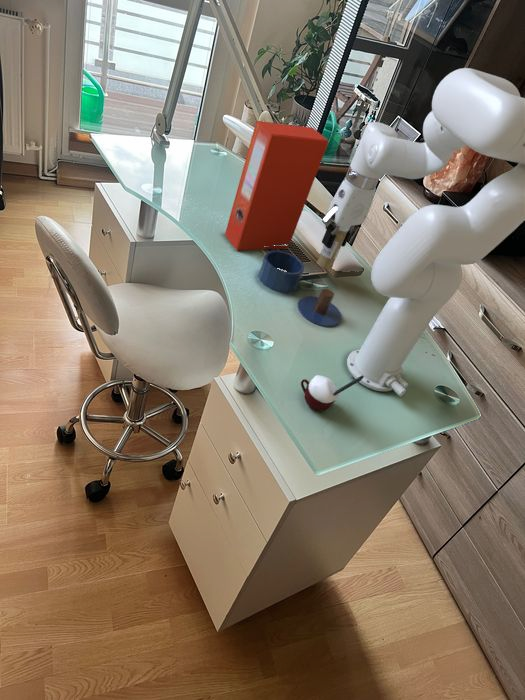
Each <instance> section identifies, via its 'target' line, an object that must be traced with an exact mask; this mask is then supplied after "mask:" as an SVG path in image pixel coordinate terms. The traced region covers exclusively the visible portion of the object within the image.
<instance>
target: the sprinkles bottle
mask: <svg viewBox="0 0 525 700" xmlns="http://www.w3.org/2000/svg"><path fill="white" fill-rule="evenodd" d="M335 225H336V224H335V223H333V227H335ZM350 227H351V226H340V227H339V229H338V230H337V232H336V233H335V235H336V238H335V240H334V242H333V245H332V247H331V248H327V247H326V246H325V245H324V244H322V245H323V246H322V248H321V251H320V253H319V256H318V258H317V260H316V263H317V265H318V266H319V267H321V269H324V270H331V269H332V268H333V267H334V264H335V261H336V259H337V258H338V255H339V253H340V251H341V247H342V243H343V240H344V238H345V236H346V234H347V232H348V231H349V229H350Z"/></svg>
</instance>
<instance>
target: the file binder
mask: <svg viewBox="0 0 525 700" xmlns="http://www.w3.org/2000/svg"><path fill="white" fill-rule="evenodd" d="M328 145H329V140H328V138H326V137H325V136H323V134H321V133H320V132H319V131H318V130H316V129H315V128H314V127H312V126H311V127H310V126H302V125H295V124H285V123H278V122H271V121H262V120H256V121H255V124H254V129H253V132H252V136H251V139H250V142H249V146H248V150H247V154H246V156H245V161H244V164H243V168H242V172H241V175H240V178H239V181H238V186H237V190H236V193H235V196H234V199H233V200H234V201H233V204H232V207H231V211H230V214H229V217H228V222H227V226H226V229H225V232H224V235H225V237H226V239H227V240H228V241H229V243H230V244H231V245H232V246H233V248H234V249H235V251H256V250H258V251H259V250H281V249H282V250H283V249H289V246H290V245H289V246H272V245H282V244H289V243H290V244H291V242H292V239H293V236H294V234H295V232H296V228H297V226H298V224H299V221H300V218H301V216H302V213H303V211H304V209H305V206H306V202H307V199H308V197H309V195H310V193H311V189H312V186H313V183H314V181H315V179H316V176H317V174H318V171H319V169H320V165H321V163H322V160H323V157H324V156H325V152H326V150H327V147H328ZM264 246H269V247H264Z"/></svg>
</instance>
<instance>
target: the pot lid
mask: <svg viewBox="0 0 525 700" xmlns="http://www.w3.org/2000/svg"><path fill="white" fill-rule="evenodd" d="M334 297H335V293H334V292H333V290H331V289H328V288H322V289H321V291H320V294H319V296H313V295H307V296H303V297H301V298H300V299H299V300H298V303H297V309H298V312H299V314H300V315H301V316H302V317H303V318H305V319H306V320H307V321H308V322H310V323H311V324H314V325H317V326H319V327H326V328H329V327H330V328H332V327H335V326H338V325H339V324H340V323H341V320H342V314H341V312H340V310H339V308H338V307H337V306H335V304H333V303H332V301H333V299H334Z"/></svg>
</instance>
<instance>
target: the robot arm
mask: <svg viewBox="0 0 525 700" xmlns="http://www.w3.org/2000/svg"><path fill="white" fill-rule="evenodd" d="M519 91H520V90H519V89H518V88H517V87H516V85H514V83H512V82H511V81H509V80H507V79H506V78H503V77H500V76H497V75H494V74H490V73H487V72H484V71H481V70H478V69H475V68H470V67H469V68H468V67H463V68H458V69H455V70H453V71H451V72H449V73H448V74H447V75H445V77H443V79H441V80H440V82H439V83H438V85H437V86H436V88H435V90H434V92H433V95H432V100H431V111H430V112H429V113H428V114H427V116H426V117H425V119H424V121H423V124H422V125H423V126H422V136H423V140H424V142H417V141H413V140H408V139H404V138H398V133H397V131H396V130H395V129H394V128H393V127H391V126H390V125H388V124H385V123H382V122H379V121H371V122H369V123H368V124H367V125H366V126H365V128H364V131H363V133H362V135H361V138H360V140H359V143H358V145H357V148H356V150H355V152H354V155H353V157H352V160H351V162H350V165H349V166H348V169H347V172H346V174H345V177H344V179H343V180H342V182H341V184H340V185H339V187H338V188H337V191H336V192H335V194H334V197H333V198H332V200H331V203H330V205H329V207H328V211H327V213H326V215H325V216H324V217H323V218H322V220H321V222H322V223H323V225H324V226H325V230H326V231H325V233H324V235H323V236H322V239H321V243H322V245H325V246H326V247H327V248H331V247H332V245H333V242H334V240H335V238H336V235H335V233H336V232H337V230H338V229H339V227H340V226H351V227H350V229H349V231H348V232H347V234H346V236H345V238H344V240H343V243H342V246H341V247H345V246H346V245H347V242H348V240H349V238H350V236H351V234H352V233H353V232H354V231H355V228H356V227H358V226H359V225H362V224H364V222H366V221H365V220H366V219H367V216H368V215H369V211H370V209H371V206H372V204H373V201H374V198H375V194H376V190H377V188H376V187H377V184H378V182H379V181H380V178H381V176H382V175H385V176H393V177H398V178H399V177H400V178H403V179H409V180H418V179H422V178H426V177H428V176H431V175H433V174H435V173H438V172H439V171H441V170H442V169H443V170H444V168H445V167H446V166H447V165H448V164H449V162H450V161H451V159H452V158H453V156H454V154H455V152H456V151H458V150H461V149H462V148H465V147H469V148H470V149H471V150H473V151H474V152H476V153H479V154H480V155H483V156H487V157H491V158H493V159H497V160H504V161H508V162H512V163H517V165H516V166H514V167H512V168H511V169H509V170H508V171H506V172H503V173H502V174H500V175H498V176H496V177H494V178H493V179H492V180H490V181H489V182H488V183H486V184H485V185H484V186H483V187H482V188H481V189H480V191H478V193H477V194H476V195H475V196H474V197H473V198H471V199H470V201H468V202H467V203H466V204H464V205H462V206H450V205H443V204H430V205H429V204H428V205H426V206H422V207H421V208H419V209H417V210H416V211H414V212H413V213H412V214H411V215H410V216H409V217H408V218H407V219H405V221H404V223H403V224H402V225H401V226H400V227H399V228H398V230H397V231H396V232H395V233H394V234H393V236H392V237H391V238H390V239H389V240H388V241H387V242H386V244H385V245H384V246H383V247H382V249H381V250H380V251H379V253H378V255H376V258H375V259H374V261H373V264H372V267H371V272H370V281H371V284H372V287H373V289H375V291H376V292H377V293H379V294H380V295H381V296H384V297H388V300H387V301H386V303H385V304H384V306H383V308H382V309H381V311H380V313H379V315H378V317H377V319H376V321H374V324H373V326H372V328H371V329H370V331H369V333H368V334H367V336H366V338H365V340H364V342H363V343H362V345H361V347H360V348H359V349H354V350H352V351H351V352H350V353H349V354H348V356H347V359H346V366H347V368H348V370H349V372H350V374H351V375H352V378H354V380H355V379H357V378H358V377H360V376H364V378H363V379H362V380H361V381H359V382H358V383H359V384H361V386H364V387H366V388H368V389H370V390H373V391H375V392H391V391H394V392H395V394H397V395H398V396H399V397H402V396H403V395H404V394H405V393H406V392H407V390H406V388H407V387H408V386H409V383H408V382H407V381H406V380H405V379H403V377H402V374H403V372H404V371H405V370H404V368H403V367H402V366H403V364H404V362H405V361H406V360H407V358H408V356H409V355H410V354H411V352H412V350H413V349H414V347H415V346H416V344H417V343H418V341H419V340H420V338H421V337H422V335H423V333H424V332H425V330H426V329H427V328H428V326H429V325H430V323H431V321H432V320H433V319H434V317H435V316H436V315H437V314H438V313H439V311H440V310H441V309H442V308H443V307H444V306H445V305H446V304H448V302H449V301H450V300H451V299H452V298H453V296H454V295H455V294H456V293H457V291H458V289H459V288H460V286H461V283H462V281H463V268H462V266H464V265H465V266H467V265H474V264H477V263H478V262H480V261H481V260H482V259H484V258H485V257H486V256H487V255H488V254H489V253H490V252H491V251H493V250H494V249H495V248H496V247H498V246H499V245H500V244H501V243H502V242H503V241H505V239H506V238H508V236H510V235H511V234H512V233H513V232H515V230H516V229H517V228H518V227H519V226H520V225H521V224H523V223H524V222H525V97H522V96H521V94H520V92H519ZM333 223H335V224H336V225H335V227H333Z"/></svg>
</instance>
